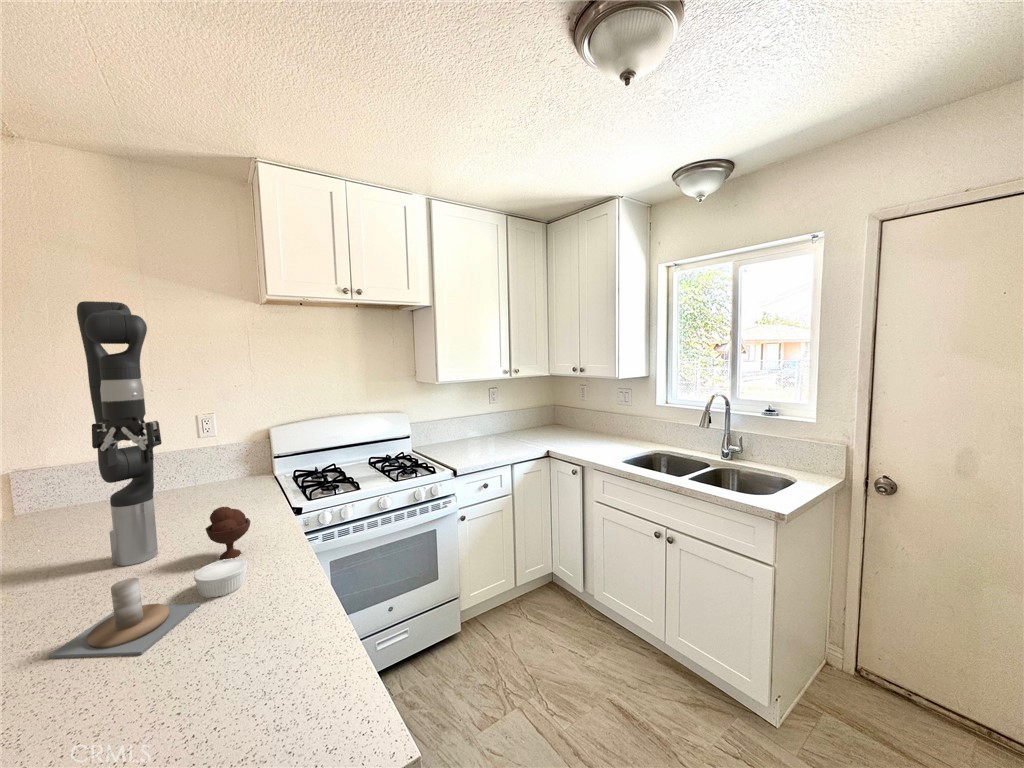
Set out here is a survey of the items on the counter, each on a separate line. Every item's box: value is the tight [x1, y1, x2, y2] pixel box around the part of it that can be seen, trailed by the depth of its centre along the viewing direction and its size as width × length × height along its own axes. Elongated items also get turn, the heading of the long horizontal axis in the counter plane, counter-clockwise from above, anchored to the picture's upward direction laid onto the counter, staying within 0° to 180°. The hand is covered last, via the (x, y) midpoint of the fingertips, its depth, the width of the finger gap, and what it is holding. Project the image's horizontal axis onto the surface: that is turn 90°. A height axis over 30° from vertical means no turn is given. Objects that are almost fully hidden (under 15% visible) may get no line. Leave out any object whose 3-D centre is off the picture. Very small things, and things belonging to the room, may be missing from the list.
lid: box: [87, 577, 169, 648], centre depth 89 cm, size 13×13×10 cm
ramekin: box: [193, 557, 249, 599], centre depth 105 cm, size 11×11×5 cm
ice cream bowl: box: [204, 506, 251, 560], centre depth 122 cm, size 11×11×15 cm
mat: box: [47, 602, 201, 659], centre depth 90 cm, size 18×16×1 cm
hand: (129, 464), depth 100 cm, fingers open, 8 cm apart
